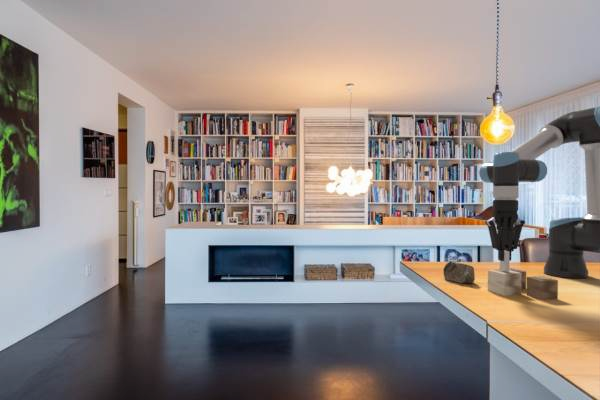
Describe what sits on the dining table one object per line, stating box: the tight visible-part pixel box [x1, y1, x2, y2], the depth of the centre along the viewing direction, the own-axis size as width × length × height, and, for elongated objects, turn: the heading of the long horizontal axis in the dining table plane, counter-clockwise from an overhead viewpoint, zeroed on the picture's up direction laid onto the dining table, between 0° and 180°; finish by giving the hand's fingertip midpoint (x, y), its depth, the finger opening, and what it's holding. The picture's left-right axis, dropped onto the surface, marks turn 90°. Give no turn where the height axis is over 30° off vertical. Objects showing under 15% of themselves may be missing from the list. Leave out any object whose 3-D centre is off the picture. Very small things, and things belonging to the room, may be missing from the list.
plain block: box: [487, 268, 522, 297], centre depth 133 cm, size 7×7×7 cm
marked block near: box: [509, 267, 527, 290], centre depth 141 cm, size 6×6×6 cm
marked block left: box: [525, 275, 559, 301], centre depth 127 cm, size 6×6×6 cm
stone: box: [443, 260, 476, 284], centre depth 150 cm, size 7×12×7 cm, turn 33°
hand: (504, 270), depth 133 cm, fingers closed
